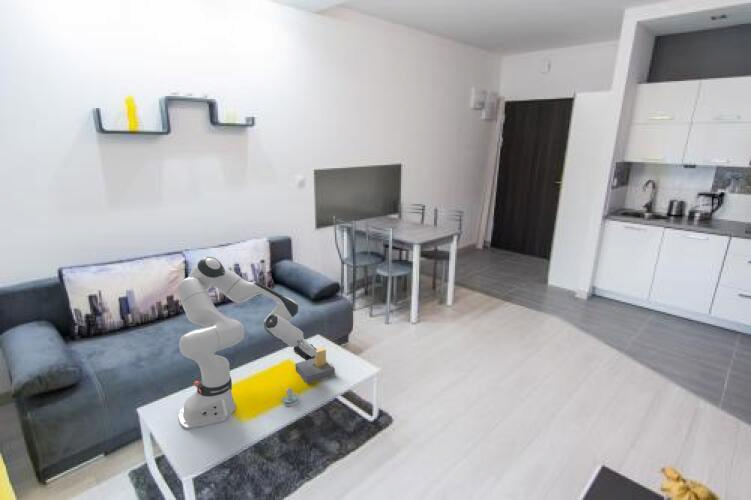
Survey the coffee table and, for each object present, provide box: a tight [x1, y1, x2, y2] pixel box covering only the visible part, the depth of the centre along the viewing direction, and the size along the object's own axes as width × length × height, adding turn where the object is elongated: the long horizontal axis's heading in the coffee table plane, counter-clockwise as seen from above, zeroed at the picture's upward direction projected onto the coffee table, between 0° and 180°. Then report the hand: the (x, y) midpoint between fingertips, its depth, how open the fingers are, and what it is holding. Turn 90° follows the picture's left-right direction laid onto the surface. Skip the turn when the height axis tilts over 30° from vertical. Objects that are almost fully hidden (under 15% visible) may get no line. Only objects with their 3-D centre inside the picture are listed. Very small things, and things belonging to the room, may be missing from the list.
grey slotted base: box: [295, 357, 336, 385], centre depth 202 cm, size 15×14×5 cm
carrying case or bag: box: [293, 343, 318, 360], centre depth 222 cm, size 11×3×15 cm
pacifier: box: [281, 387, 299, 407], centre depth 179 cm, size 7×6×6 cm
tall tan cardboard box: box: [314, 347, 327, 368], centre depth 203 cm, size 5×2×12 cm, turn 124°
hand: (312, 350), depth 200 cm, fingers open, 8 cm apart
